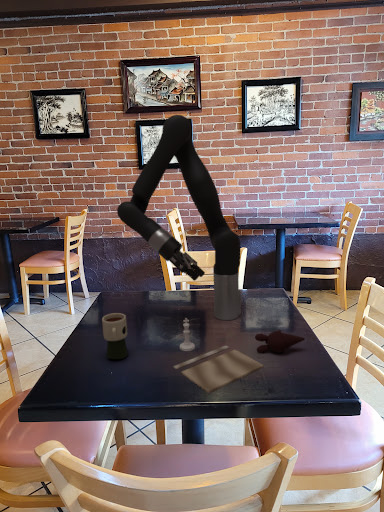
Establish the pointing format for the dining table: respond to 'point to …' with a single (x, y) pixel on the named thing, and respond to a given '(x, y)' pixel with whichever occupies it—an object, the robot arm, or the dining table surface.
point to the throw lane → (219, 369)
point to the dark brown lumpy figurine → (277, 341)
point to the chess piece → (186, 338)
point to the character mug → (115, 335)
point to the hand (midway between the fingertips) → (200, 276)
